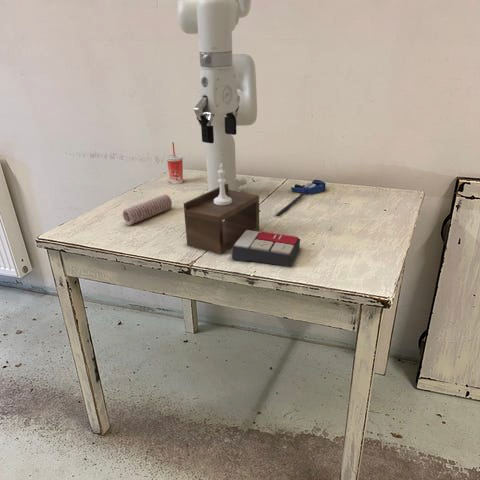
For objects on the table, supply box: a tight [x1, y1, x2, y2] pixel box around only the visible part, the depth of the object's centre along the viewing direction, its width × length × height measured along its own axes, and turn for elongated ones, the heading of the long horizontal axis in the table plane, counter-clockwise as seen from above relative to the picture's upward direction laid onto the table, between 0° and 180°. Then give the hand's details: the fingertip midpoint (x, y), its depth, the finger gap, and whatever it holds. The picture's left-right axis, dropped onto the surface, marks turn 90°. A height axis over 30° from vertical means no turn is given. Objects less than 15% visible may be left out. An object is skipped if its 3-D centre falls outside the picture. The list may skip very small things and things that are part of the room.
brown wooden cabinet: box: [183, 184, 260, 255], centre depth 130 cm, size 19×11×12 cm, turn 147°
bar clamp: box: [275, 179, 327, 217], centre depth 158 cm, size 32×2×10 cm
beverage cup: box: [165, 141, 184, 185], centre depth 174 cm, size 6×6×14 cm
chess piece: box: [214, 163, 232, 205], centre depth 125 cm, size 5×5×10 cm
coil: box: [122, 194, 173, 226], centre depth 147 cm, size 5×5×18 cm
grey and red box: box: [231, 230, 301, 267], centre depth 122 cm, size 11×4×15 cm
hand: (219, 138), depth 120 cm, fingers open, 9 cm apart
